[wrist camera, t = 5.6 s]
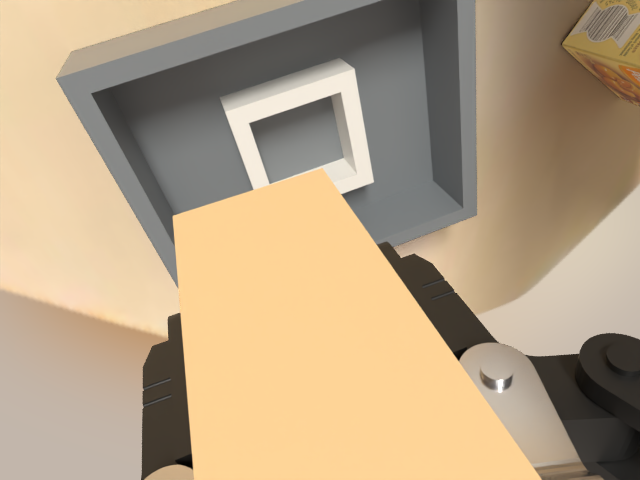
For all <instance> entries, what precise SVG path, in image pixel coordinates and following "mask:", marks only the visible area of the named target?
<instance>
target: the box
mask: <svg viewBox="0 0 640 480" xmlns="http://www.w3.org/2000/svg"><path fill="white" fill-rule="evenodd" d="M56 80H57V82H58V83H59V85H60V87H61V88H62V90H63V92H64V94H65V95H66V97H67V99H68V100H69V102H70V104H71V106H72V107H73V109H74V111H75V112H76V114H77V116H78V118H79V119H80V121H81V123H82V124H83V126H84V128H85V130H86V131H87V133H88V135H89V136H90V138H91V140H92V142H93V143H94V145H95V147H96V148H97V150H98V152H99V154H100V155H101V157H102V159H103V160H104V162H105V164H106V166H107V167H108V169H109V171H110V172H111V174H112V176H113V178H114V179H115V181H116V183H117V184H118V186H119V188H120V190H121V191H122V193H123V195H124V196H125V198H126V200H127V202H128V203H129V205H130V207H131V208H132V210H133V212H134V214H135V215H136V217H137V219H138V220H139V222H140V224H141V226H142V227H143V229H144V231H145V232H146V234H147V236H148V238H149V239H150V241H151V243H152V244H153V246H154V248H155V250H156V251H157V253H158V255H159V256H160V258H161V260H162V262H163V263H164V265H165V267H166V268H167V270H168V272H169V274H170V275H171V277H172V279H173V280H174V282H175V284H176V286H177V287H178V276H177V264H176V252H175V239H174V227H173V216H174V215H177V214H180V213H183V212H186V211H189V210H193V209H196V208H199V207H202V206H205V205H208V204H211V203H214V202H218V201H221V200H224V199H227V198H230V197H233V196H236V195H239V194H243V193H246V192H249V191H252V190H255V189H258V188H261V187H264V186H268V185H271V184H274V183H277V182H280V181H283V180H286V179H289V178H293V177H296V176H299V175H302V174H305V173H308V172H311V171H314V170H318V169H321V168H323V169H324V171H325V172H326V174H327V175H328V177H329V178H330V179H331V181H332V182H333V184H334V185H335V186H336V188H337V189H338V191H339V192H340V194H341V195H342V196H343V198H344V199H345V201H346V202H347V204H348V205H349V206H350V208H351V209H352V211H353V212H354V213H355V215H356V216H357V218H358V219H359V221H360V222H361V223H362V225H363V226H364V228H365V229H366V231H367V232H368V233H369V235H370V236H371V238H372V239H373V240H374V242H375V243H376V245H377V244H380V243H383V242H386V241H387V242H389V243H390V244H391V246H392V247H395V246H397V245H400V244H402V243H405V242H408V241H410V240H413V239H416V238H418V237H421V236H423V235H426V234H429V233H431V232H434V231H437V230H439V229H442V228H445V227H447V226H450V225H452V224H455V223H458V222H460V221H463V220H466V219H468V218H471V217H474V216H476V215H477V166H476V39H475V0H237V1H234V2H231V3H228V4H224V5H221V6H218V7H215V8H211V9H208V10H205V11H202V12H198V13H195V14H192V15H189V16H185V17H182V18H179V19H176V20H173V21H169V22H166V23H163V24H160V25H156V26H153V27H150V28H147V29H143V30H140V31H137V32H134V33H130V34H127V35H124V36H121V37H118V38H114V39H111V40H108V41H105V42H101V43H98V44H95V45H92V46H88V47H85V48H82V49H79V50H75V51H72V52H71V53H70V55H69V57H68V58H67V60H66V62H65V63H64V65H63V67H62V69H61V70H60V72H59V74H58V75H57V77H56ZM178 289H179V288H178Z"/></svg>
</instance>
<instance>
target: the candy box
mask: <svg viewBox="0 0 640 480" xmlns="http://www.w3.org/2000/svg"><path fill="white" fill-rule="evenodd" d="M562 46H563V47H564V48H565V49H566V50H567V51H568V52H569V53H570V54H571V55H572V56H573V57H574V58H575V59H576V60H578V61H579V62H580V63H581V64H582V65H583V66H584V67H585V68H586V69H587V70H589V71H590V72H591V73H592V74H593V75H594V76H595V77H597V78H598V79H599V80H600V81H601V82H602V83H603V84H605V85H606V86H607V87H608V88H609V89H610V90H612V91H613V92H614V93H615V94H616V95H617V96H618V97H619V98H620V99H622V100H624V101H627V102H630V103H633V104H635V105H638V106H640V0H593V2H592V3H591V5H590V6H589V7H588V9H587V10H586V11H585V13H584V14H583V16H582V17H581V18H580V20H579V21H578V23H577V24H576V25H575V27H574V28H573V30H572V31H571V32H570V34H569V35H568V36H567V38H566V39H565V40H564V42H563V43H562Z"/></svg>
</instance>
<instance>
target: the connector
mask: <svg viewBox="0 0 640 480" xmlns="http://www.w3.org/2000/svg"><path fill="white" fill-rule="evenodd" d="M173 227H174V239H175V252H176V264H177V276H178V288H179V301H180V313H181V325H182V337H183V350H184V362H185V374H186V386H187V399H188V411H189V423H190V435H191V448H192V460H193V472H194V480H542V479H541V478H540V476H539V475H538V473H537V472H536V471H535V469H534V468H533V466H532V465H531V464H530V462H529V461H528V459H527V458H526V456H525V455H524V454H523V452H522V451H521V449H520V448H519V446H518V445H517V444H516V442H515V441H514V439H513V438H512V437H511V435H510V434H509V432H508V431H507V429H506V428H505V427H504V425H503V424H502V422H501V421H500V419H499V418H498V417H497V415H496V414H495V412H494V411H493V410H492V408H491V407H490V405H489V404H488V402H487V401H486V400H485V398H484V397H483V395H482V394H481V392H480V391H479V390H478V388H477V387H476V385H475V384H474V383H473V381H472V380H471V378H470V377H469V375H468V374H467V373H466V371H465V370H464V368H463V367H462V365H461V364H460V363H459V361H458V360H457V358H456V357H455V356H454V354H453V353H452V351H451V350H450V348H449V347H448V346H447V344H446V343H445V341H444V340H443V339H442V337H441V336H440V334H439V333H438V331H437V330H436V329H435V327H434V326H433V324H432V323H431V321H430V320H429V319H428V317H427V316H426V314H425V313H424V312H423V310H422V309H421V307H420V306H419V304H418V303H417V302H416V300H415V299H414V297H413V296H412V294H411V293H410V292H409V290H408V289H407V287H406V286H405V285H404V283H403V282H402V280H401V279H400V277H399V276H398V275H397V273H396V272H395V270H394V269H393V267H392V266H391V265H390V263H389V262H388V260H387V259H386V258H385V256H384V255H383V253H382V252H381V250H380V249H379V248H378V246H377V245H376V243H375V242H374V240H373V239H372V238H371V236H370V235H369V233H368V232H367V231H366V229H365V228H364V226H363V225H362V223H361V222H360V221H359V219H358V218H357V216H356V215H355V213H354V212H353V211H352V209H351V208H350V206H349V205H348V204H347V202H346V201H345V199H344V198H343V196H342V195H341V194H340V192H339V191H338V189H337V188H336V186H335V185H334V184H333V182H332V181H331V179H330V178H329V177H328V175H327V174H326V172H325V171H324V169H323V168H321V169H318V170H314V171H311V172H308V173H305V174H302V175H299V176H296V177H293V178H289V179H286V180H283V181H280V182H277V183H274V184H271V185H268V186H264V187H261V188H258V189H255V190H252V191H249V192H246V193H243V194H239V195H236V196H233V197H230V198H227V199H224V200H221V201H218V202H214V203H211V204H208V205H205V206H202V207H199V208H196V209H193V210H189V211H186V212H183V213H180V214H177V215H174V216H173Z"/></svg>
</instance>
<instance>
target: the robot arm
mask: <svg viewBox="0 0 640 480" xmlns="http://www.w3.org/2000/svg"><path fill="white" fill-rule="evenodd" d="M377 246H378V248H379V249H380V250H381V252H382V253H383V255H384V256H385V258H386V259H387V260H388V262H389V263H390V265H391V266H392V267H393V269H394V270H395V272H396V273H397V275H398V276H399V277H400V279H401V280H402V282H403V283H404V285H405V286H406V287H407V289H408V290H409V292H410V293H411V294H412V296H413V297H414V299H415V300H416V302H417V303H418V304H419V306H420V307H421V309H422V310H423V312H424V313H425V314H426V316H427V317H428V319H429V320H430V321H431V323H432V324H433V326H434V327H435V329H436V330H437V331H438V333H439V334H440V336H441V337H442V339H443V340H444V341H445V343H446V344H447V346H448V347H449V348H450V350H451V351H452V353H453V354H454V356H455V357H456V358H457V360H458V361H459V363H460V364H461V365H462V367H463V368H464V370H465V371H466V373H467V374H468V375H469V377H470V378H471V380H472V381H473V383H474V384H475V385H476V387H477V388H478V390H479V391H480V392H481V394H482V395H483V397H484V398H485V400H486V401H487V402H488V404H489V405H490V407H491V408H492V410H493V411H494V412H495V414H496V415H497V417H498V418H499V419H500V421H501V422H502V424H503V425H504V427H505V428H506V429H507V431H508V432H509V434H510V435H511V437H512V438H513V439H514V441H515V442H516V444H517V445H518V446H519V448H520V449H521V451H522V452H523V454H524V455H525V456H526V458H527V459H528V461H529V462H530V464H531V465H532V466H533V468H534V469H535V471H536V472H537V473H538V475H539V476H540V478H541V479H542V480H640V340H639V339H636V338H634V337H631V336H627V335H623V334H615V333H606V334H600V335H596V336H594V337H591V338H589V339H588V340H587V341H586V342H585V343H584V344H583V346H582V348H581V350H580V353H579V354H571V355H557V356H541V357H537V356H528V355H524V354H523V353H522V352H520V351H518V350H517V349H515V348H513V347H511V346H508V345H505V344H500V343H499V342H497V341H496V340H495V339H494V338H493V337H492V336H491V334H490V333H489V332H488V331H487V329H486V328H485V327H484V326H483V324H482V323H481V322H480V321H479V320H478V318H477V317H476V316H475V315H474V314H473V312H472V311H471V310H470V309H469V308H468V306H467V305H466V304H465V303H464V301H463V300H462V299H461V298H460V297H459V295H458V294H457V293H455V292H454V289H453V288H452V287H451V286H450V285H449V283H448V282H447V281H445V280H444V277H443V276H442V275H441V274H440V272H439V271H438V270H437V269H436V268H435V266H434V265H433V264H432V263H430V262H428V261H427V260H425V259H423V258H421V257H419V256H417V255H415V254H412V255H409V256H406V257H403V258H400V256H399V255H398V254H397V252H396V251H395V250H394V248H393V247H392V246H391V244H390V243H389V242H387V241H386V242H383V243H380V244H377ZM168 338H169V340H168V341H166V342H163V343H160V344H157V345H154V346H152V348H151V350H150V353H149V355H148V357H147V359H146V362H145V364H144V366H143V389H144V391H143V406H144V408H143V419H142V421H143V422H142V477H141V480H194V472H193V460H192V448H191V435H190V423H189V411H188V399H187V386H186V374H185V362H184V350H183V337H182V325H181V313H178V314H175V315H172V316H169V317H168Z"/></svg>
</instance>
